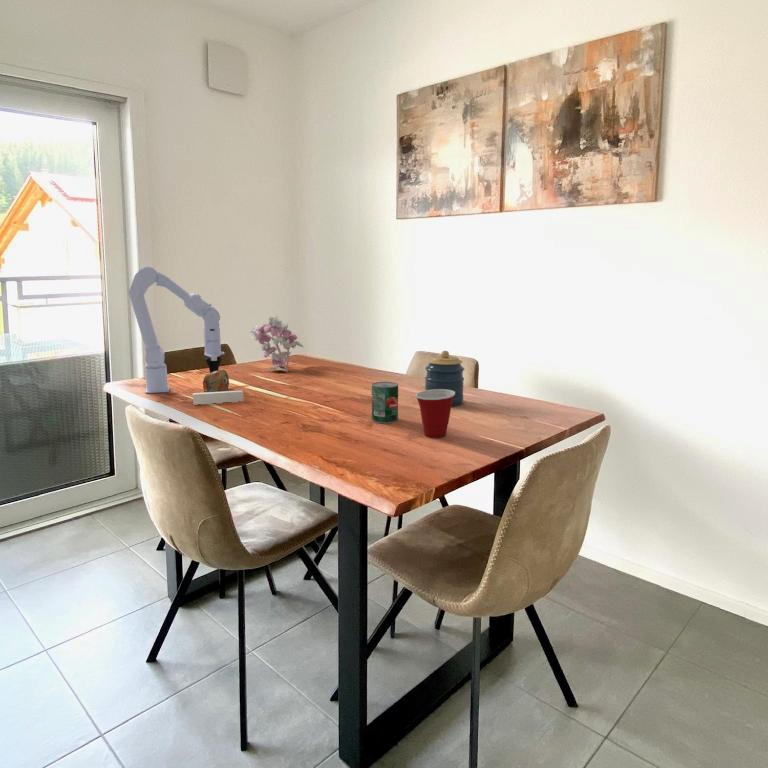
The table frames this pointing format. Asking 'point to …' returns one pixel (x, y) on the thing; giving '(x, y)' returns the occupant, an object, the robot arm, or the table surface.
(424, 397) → the plastic cup
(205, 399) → the board
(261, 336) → the flower
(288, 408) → the table surface
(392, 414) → the canned tomato
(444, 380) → the canister
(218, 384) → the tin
